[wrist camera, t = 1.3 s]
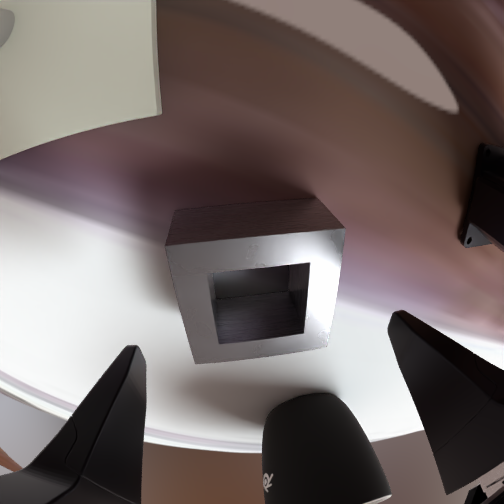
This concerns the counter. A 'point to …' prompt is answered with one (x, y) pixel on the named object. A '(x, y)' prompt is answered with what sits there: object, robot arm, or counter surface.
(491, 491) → the robot arm
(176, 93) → the counter surface
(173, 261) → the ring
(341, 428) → the mug
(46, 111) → the peg board
